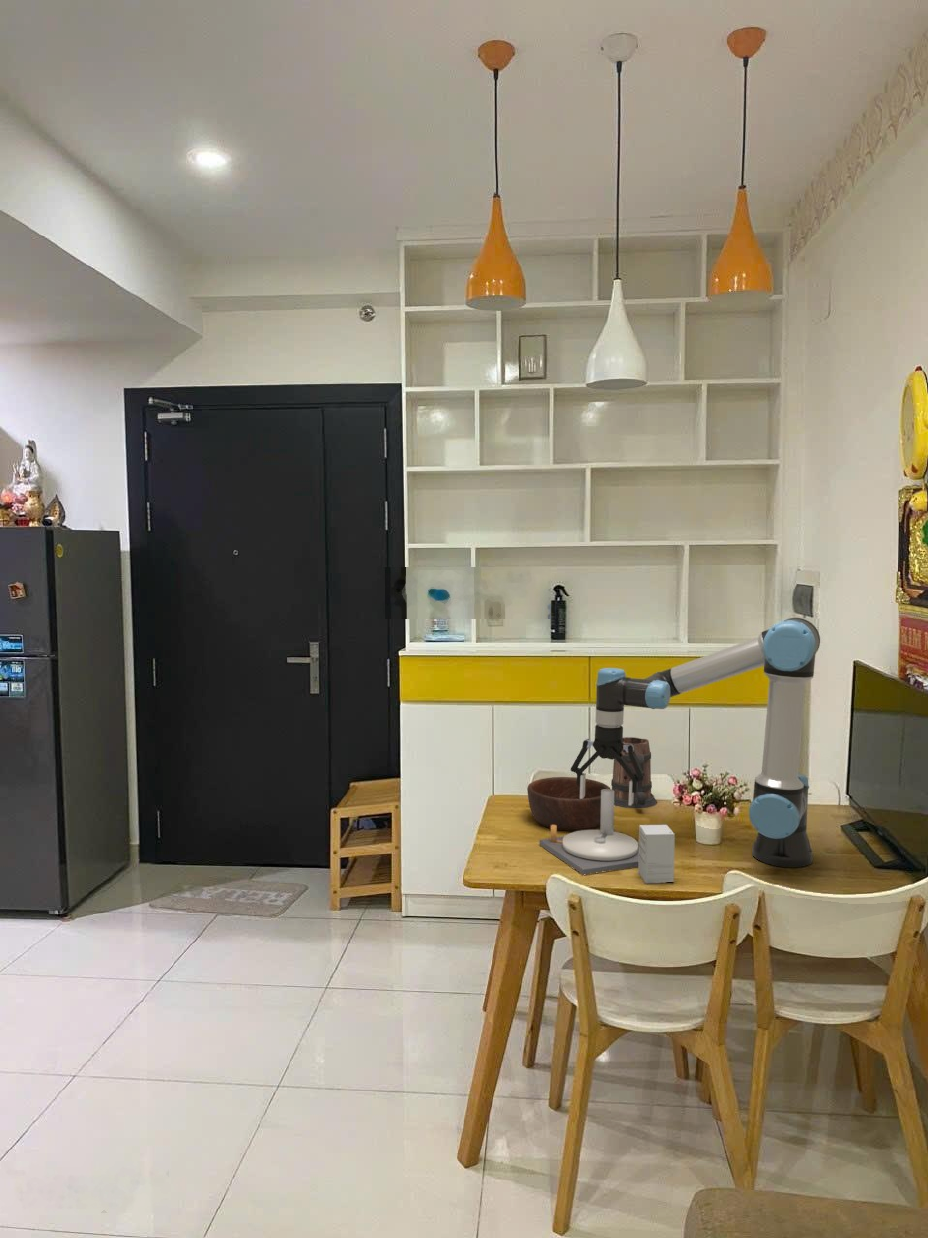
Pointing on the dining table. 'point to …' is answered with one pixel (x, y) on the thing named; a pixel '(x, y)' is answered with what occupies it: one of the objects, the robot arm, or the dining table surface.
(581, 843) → the grey round-based post piece
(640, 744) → the tankard
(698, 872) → the dining table surface
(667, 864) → the supplement box
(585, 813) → the wooden bowl
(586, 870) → the dial plate
